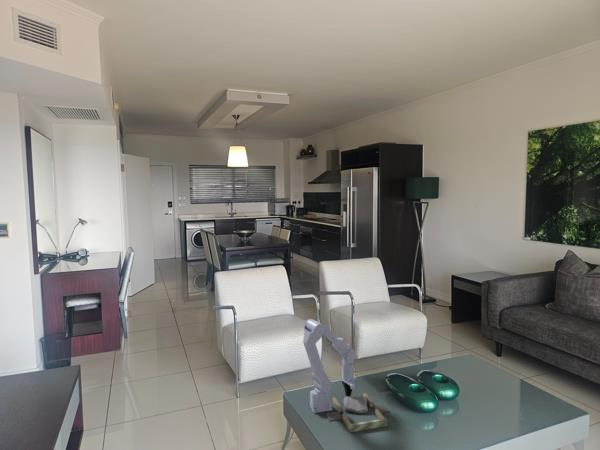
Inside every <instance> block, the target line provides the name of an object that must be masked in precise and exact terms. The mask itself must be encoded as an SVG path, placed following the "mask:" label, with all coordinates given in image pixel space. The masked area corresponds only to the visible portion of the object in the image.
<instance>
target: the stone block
mask: <svg viewBox="0 0 600 450" xmlns="http://www.w3.org/2000/svg"><path fill="white" fill-rule="evenodd" d="M342 402H343V403H342V404H343V411H345V412H351V413H357V414H366V413H368V412H369V408H368V404H367V398H365V397H363V396H358V395H357V396H355V397H351V396H349V397H348V396H345V397H344V398H343V401H342Z"/></svg>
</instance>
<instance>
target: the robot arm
mask: <svg viewBox="0 0 600 450" xmlns="http://www.w3.org/2000/svg"><path fill="white" fill-rule="evenodd" d="M303 330H304V333H303V341H302V342H303V346H304V349H305V352H306V355H307V357H308V360H309V364H310V367H311V371H312V373H311V384H312V385H313V387H314V389H312V390H310V391H309V406H310V408H311V410H312V412H313V413H314V414H316V413H323V412H329V411H333V408H332V406H331V404H330V403H331V401H330V397H331V396H330V393H331V390H332V389H333V382H332V381H331V380H330V378H329V376H328V375H327V373H326V371H325V369H324V367H323V363H322V361H321V357H320V354H319V350H318V347H317V344H316V343H318V342H320V341H319V340H320V339H322V337H325V338H327V340H329V341H330V342H331V345H332V347H333V348H334V350H336V351H337V352H338V353H339V355H340V356H341V367H342V369H341V380H342V381H341V383H342V386H343V388H344V392H345V393H344V394H345V397H347V396H348V397H351V396H352V392H353V390H355V389H356V385H355V380H357V378H356V376H355V375H354V374H355V373H354V370H355V369H354V366H355V365H354V363H355V358H356V356H357V353H356V351H355V350H354V348H351V347H350V344H349V343H346V342H345V339H344V338H343V337H337V336H336V335H335V334H334V333H333V332H332V331H331V330H330V329H329V328H328V327H327V326H326V325H325V324H324V323H321V322H319V321H317V320H315V319H314V318H308V319H307V320H306V322H305V324H303Z"/></svg>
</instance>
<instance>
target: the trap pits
mask: <svg viewBox="0 0 600 450" xmlns="http://www.w3.org/2000/svg"><path fill="white" fill-rule="evenodd" d="M372 408H373V409H374V410H375V409H378V410H379V411H380V412H381V414H383V413H384V414H385V413H390V412H391V410H390V409H389V408H388V407H387V405H386V404H378V405H377V404H376V405H373V407H372ZM325 415H326V417H327V419H328V421H329V422H334V421H335V422H336V421H339V420H340V421H341V420H343V417H342V416H341V415H340V412H338V411H333V412H327V413H325Z"/></svg>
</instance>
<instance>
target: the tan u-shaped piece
mask: <svg viewBox="0 0 600 450" xmlns="http://www.w3.org/2000/svg"><path fill="white" fill-rule="evenodd" d="M362 395H363V397H365V398H367V406H369V408H374V407H373V406H374V405H373V403H374V402H373V401H372V399H371V398H370V397H369V396H368V394H367V393H366V392H363V394H362ZM332 403H333V405H334V406H335V408H336V411H337V412H339V413H341V412H342V406H341V404H340V403H339V401H338V400H337V398H336V397H332ZM374 410H375V411H374V413H375V416H376V417H377V418H378V419H373V420H367V421H361V422H353V423H351V421H350V420H349V418H348V416H347V414H346V413H342V421H343V422H344V424H345V426H346V428H347V429H348V431H349V432H350V433H355V432H360V431H367V430H372V429H377V428H384V427H388V419H387V418H386V417H385V416H384V415H383V413H381V412H380V411H379V410H378V409H374Z"/></svg>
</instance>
